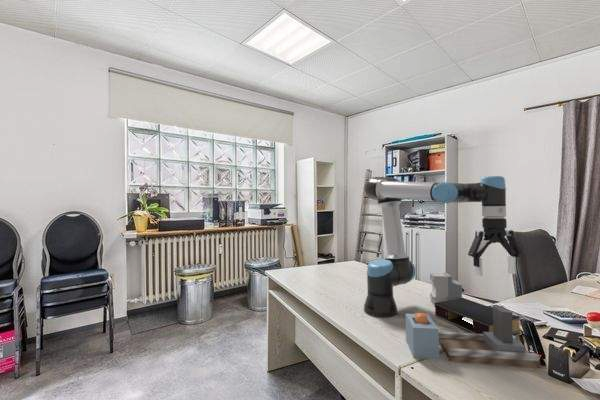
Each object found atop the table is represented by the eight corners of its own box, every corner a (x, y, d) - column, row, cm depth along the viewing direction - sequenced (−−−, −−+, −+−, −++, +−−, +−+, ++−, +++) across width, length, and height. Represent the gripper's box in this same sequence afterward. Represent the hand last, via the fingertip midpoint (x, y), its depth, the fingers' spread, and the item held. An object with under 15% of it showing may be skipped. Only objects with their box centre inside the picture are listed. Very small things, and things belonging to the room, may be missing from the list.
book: (489, 342, 105) (489, 324, 105) (434, 317, 128) (434, 302, 128) (520, 334, 111) (519, 317, 111) (462, 311, 135) (462, 297, 135)
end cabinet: (413, 357, 95) (413, 327, 95) (406, 340, 107) (405, 313, 107) (439, 359, 94) (438, 328, 94) (428, 341, 106) (428, 314, 106)
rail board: (450, 361, 92) (449, 350, 92) (436, 340, 106) (436, 331, 106) (540, 368, 88) (540, 356, 88) (513, 345, 102) (513, 335, 102)
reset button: (416, 329, 99) (416, 317, 99) (413, 324, 103) (413, 312, 103) (428, 329, 98) (428, 317, 98) (425, 324, 102) (425, 313, 102)
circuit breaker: (465, 308, 138) (465, 277, 138) (434, 306, 141) (433, 275, 141) (460, 302, 145) (459, 273, 145) (430, 301, 148) (429, 272, 148)
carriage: (497, 354, 92) (496, 313, 92) (483, 340, 102) (482, 303, 102) (524, 356, 91) (524, 315, 91) (508, 341, 100) (507, 304, 100)
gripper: (470, 219, 102) (472, 278, 101) (532, 217, 105) (534, 275, 105) (456, 218, 109) (458, 273, 109) (515, 216, 112) (516, 270, 112)
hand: (495, 274), depth 107 cm, fingers open, 13 cm apart
